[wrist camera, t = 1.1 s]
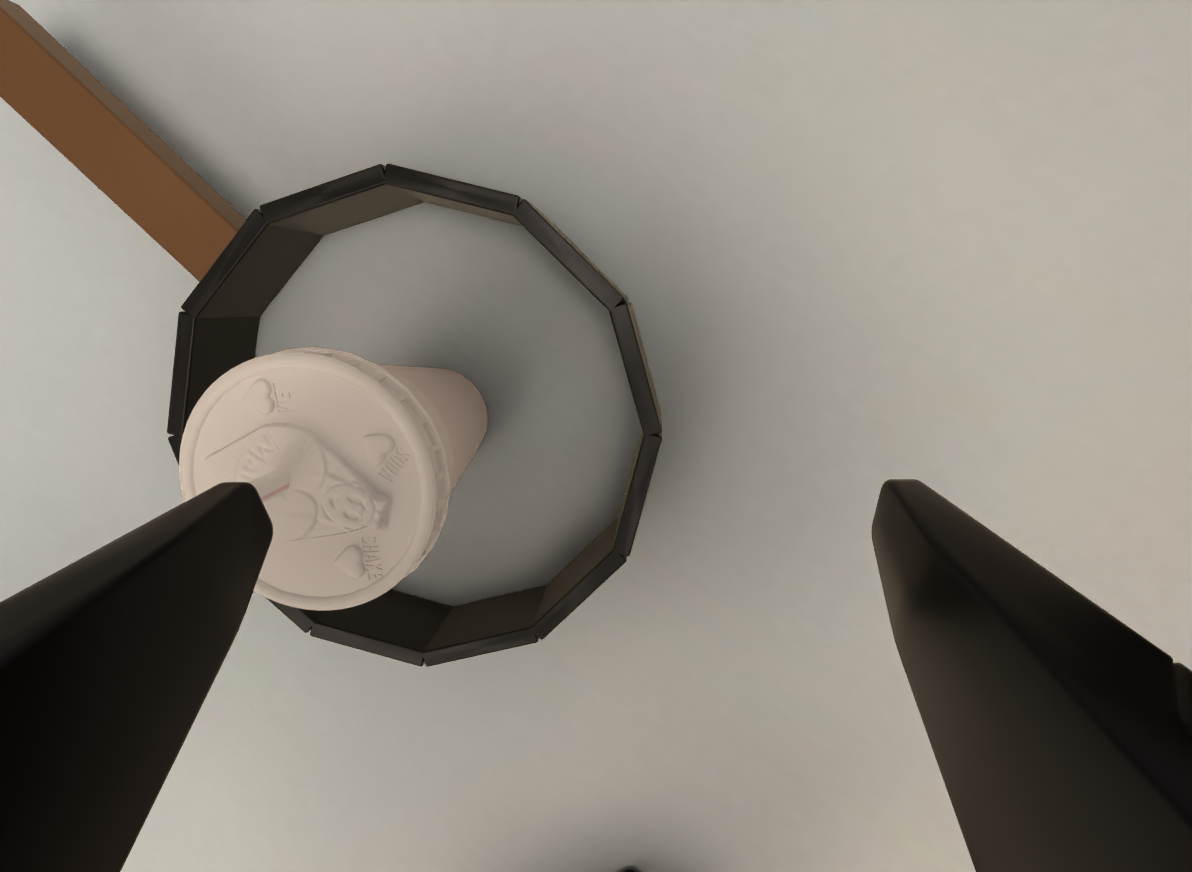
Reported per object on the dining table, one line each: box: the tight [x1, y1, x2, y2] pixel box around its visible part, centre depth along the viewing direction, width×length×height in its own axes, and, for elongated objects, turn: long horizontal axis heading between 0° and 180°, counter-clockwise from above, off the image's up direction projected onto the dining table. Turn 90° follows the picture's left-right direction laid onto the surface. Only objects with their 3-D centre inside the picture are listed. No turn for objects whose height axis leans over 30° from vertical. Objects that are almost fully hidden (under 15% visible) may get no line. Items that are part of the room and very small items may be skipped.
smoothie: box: [179, 347, 487, 610], centre depth 18 cm, size 6×6×14 cm
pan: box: [0, 0, 662, 666], centre depth 22 cm, size 16×27×4 cm, turn 46°
